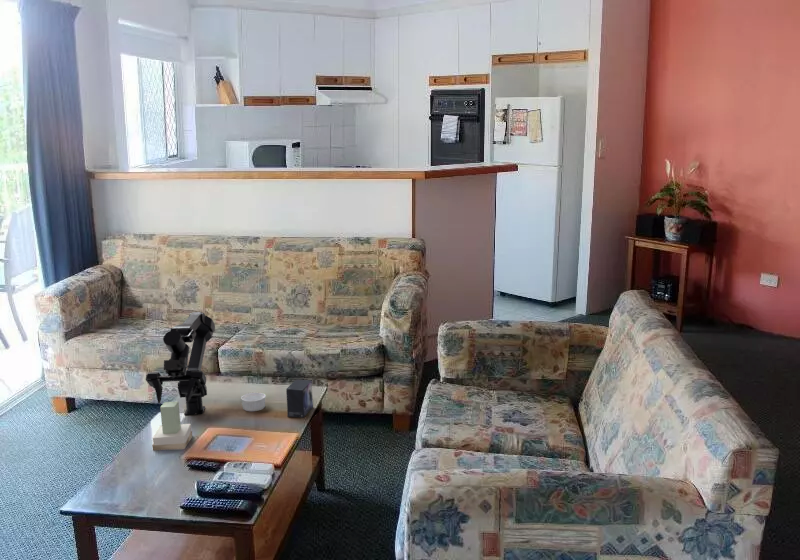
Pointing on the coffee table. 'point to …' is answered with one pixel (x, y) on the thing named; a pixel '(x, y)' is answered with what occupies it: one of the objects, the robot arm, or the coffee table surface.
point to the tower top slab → (172, 436)
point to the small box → (299, 398)
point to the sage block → (170, 417)
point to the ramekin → (253, 401)
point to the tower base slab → (172, 445)
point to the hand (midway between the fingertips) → (172, 402)
